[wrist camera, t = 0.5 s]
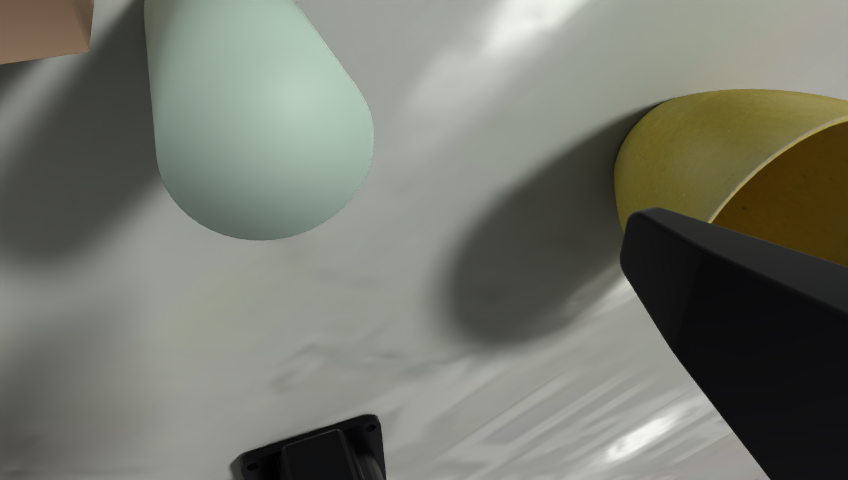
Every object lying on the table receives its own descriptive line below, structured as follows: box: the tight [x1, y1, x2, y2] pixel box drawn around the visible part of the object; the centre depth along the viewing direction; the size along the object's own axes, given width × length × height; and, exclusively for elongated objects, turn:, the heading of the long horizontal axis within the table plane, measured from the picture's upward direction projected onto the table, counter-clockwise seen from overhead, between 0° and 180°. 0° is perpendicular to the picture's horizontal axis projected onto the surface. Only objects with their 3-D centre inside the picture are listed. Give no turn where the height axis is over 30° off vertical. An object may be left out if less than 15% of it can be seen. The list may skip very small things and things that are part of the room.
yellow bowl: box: [614, 89, 848, 267], centre depth 25 cm, size 10×10×7 cm
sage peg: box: [143, 0, 374, 240], centre depth 15 cm, size 4×4×8 cm
